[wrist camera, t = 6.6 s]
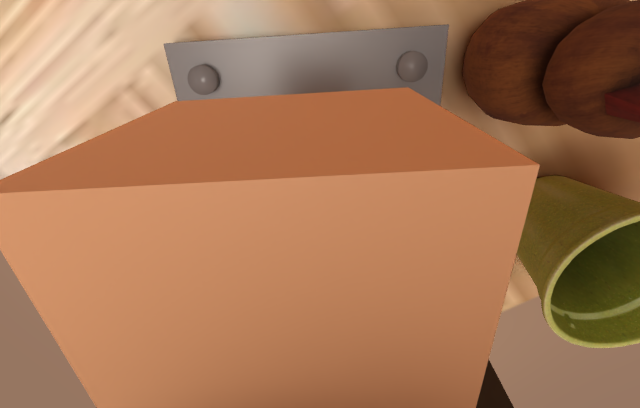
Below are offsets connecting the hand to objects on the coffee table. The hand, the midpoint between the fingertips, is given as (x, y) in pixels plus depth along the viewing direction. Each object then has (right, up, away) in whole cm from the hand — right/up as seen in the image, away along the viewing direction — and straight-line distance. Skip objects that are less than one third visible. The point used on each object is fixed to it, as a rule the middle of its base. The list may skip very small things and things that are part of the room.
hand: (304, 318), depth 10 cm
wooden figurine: (+12, +13, +10) cm, 20 cm away
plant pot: (+17, +3, +15) cm, 23 cm away
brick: (0, +1, +2) cm, 2 cm away
